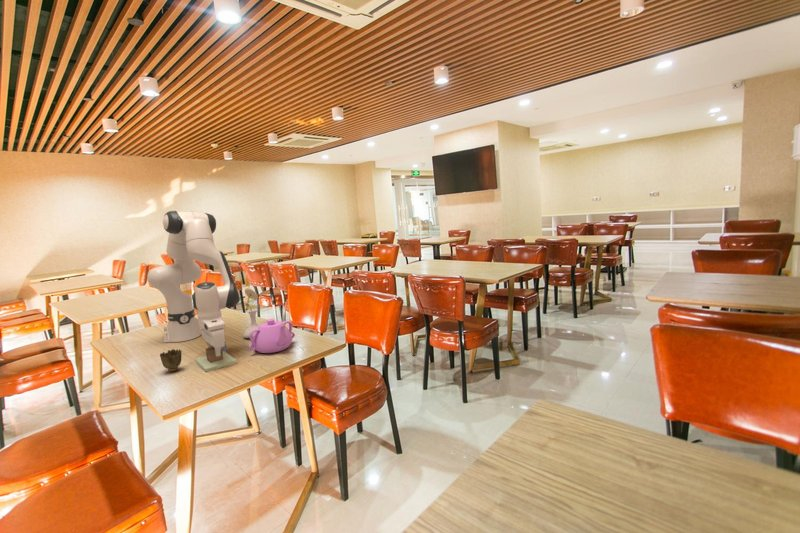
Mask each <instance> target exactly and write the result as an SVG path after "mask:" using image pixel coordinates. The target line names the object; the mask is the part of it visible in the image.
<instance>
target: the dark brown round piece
mask: <svg viewBox="0 0 800 533" xmlns="http://www.w3.org/2000/svg"><path fill="white" fill-rule="evenodd" d="M159 357H160V360H161V364H162V366H163V367H164V368H165V369H167V372H168V373H174V372H178V370H179V366H180V365H181V363H182V349H180V348H179V349H174V348H173V349H171V350H170V349H168V350H167V352H165V351H163V352H160V354H159Z"/></svg>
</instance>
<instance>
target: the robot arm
mask: <svg viewBox="0 0 800 533" xmlns="http://www.w3.org/2000/svg"><path fill="white" fill-rule="evenodd" d="M162 225H163V229H164V230H165V232H167V233H168V236H167V244H166V249H165V250H166V254H167V256H168V257H169V258H171V259H172V260H174V263H172V264H165V265H160V266H157V267H153V268H151V269H150V270H149V271H148V272H147V276H146V278H147V282H148V283H149V285H150V286H151V287H152V288H154V289H157V290H158V291H159V292H160V293H161V294H162V296H163V297H164V299H165V303H166V307H167V312H168V313H167V320H168V321H167V324H166V326H164V327H163V331H164V335H163V343H181V342H185V341H190V340H194V339H196V338H198V337H200V336H201V337H202V339H203V340H204V341H205V342H206V345H207V348H210V347H214V348H215V356H217V357H218V356H220V355H221V353H220V351H221V347H224V345H225V342H226V339H225V337H226V336H225V335H226V334H225V328H226V324H225V321H224V320H223V317H222V311H221V309H223V308H227V309H228V308H235V307H236V306H237V305H238V303H240V301H241V300H240V299H241V295H240V291H239V289H238V286H237V285H236V283H235V280H234V277H233V275H232V271H231V268H230V267H229V263H228V261H227V258H226V255H225V254H224V253H223V251H221V250H219V249H218V248H217V246H216V245H215V241H214V236H213V233H215V231H216V230H217V229H216V228H217V220H216V218H215V217H214V215H213V214H210V213H207V212H206V213H204V212H197V211H183V210H181V211H177V210H169V211H167V212H166V213H165V214H164V215H163V219H162ZM197 262H199V263H201V264H206V265H210V266H213V267H216V268H217V269H218V270H219V271H220V275H221V278H222V281H223V283H224V285H220V286H217V284H216V283H215V282H212V281H211V282H210V281H205V282H201V283H198V284H197V285H195V291H194V292H193V293H192V294H190V293H189V292H186V291H183V290H182V289H181V287H180V285H186V284H189V283H193V282H195V281H198V280H199V279H200V278H201V277H202V268H201V266H200V265H199V264H198V263H197ZM195 310H196V311H197V317H195V316H196V314H195V313H196V312H195Z"/></svg>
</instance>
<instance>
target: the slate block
mask: <svg viewBox="0 0 800 533" xmlns="http://www.w3.org/2000/svg"><path fill="white" fill-rule="evenodd" d="M221 348H222V352H223V351H225V352H226V353H228V350H227V343H226V341H225V345H224V347H221Z"/></svg>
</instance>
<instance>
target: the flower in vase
mask: <svg viewBox="0 0 800 533" xmlns="http://www.w3.org/2000/svg"><path fill="white" fill-rule="evenodd" d="M243 292H244V294H245V295H246V296H247V297H248V300H247V301H248V302H245V305H244V306H246V307H248V308H250V309H248V310H246V313H248V315H249V317H250V322H251V323H250V326H248V328H246V330H244V332H243V333H242V337H243V338H246V339H250V337H249V334H250V332H251V331H252V330H254V329H258V327H259V326H260V325H258V323H257V318H256V315H257V312H258V309H257V308H253V309H252V307H255V304H254V305H251V306H250V299H251V300H254V301H256V300H258V299H259V295H258V294H257V293H256V291H254V290H253V289H252V288H248V287H246V288H245V289H244V291H243ZM255 333H256V332H254V333H253V335H252V337H253V338H254V335H255Z"/></svg>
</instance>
